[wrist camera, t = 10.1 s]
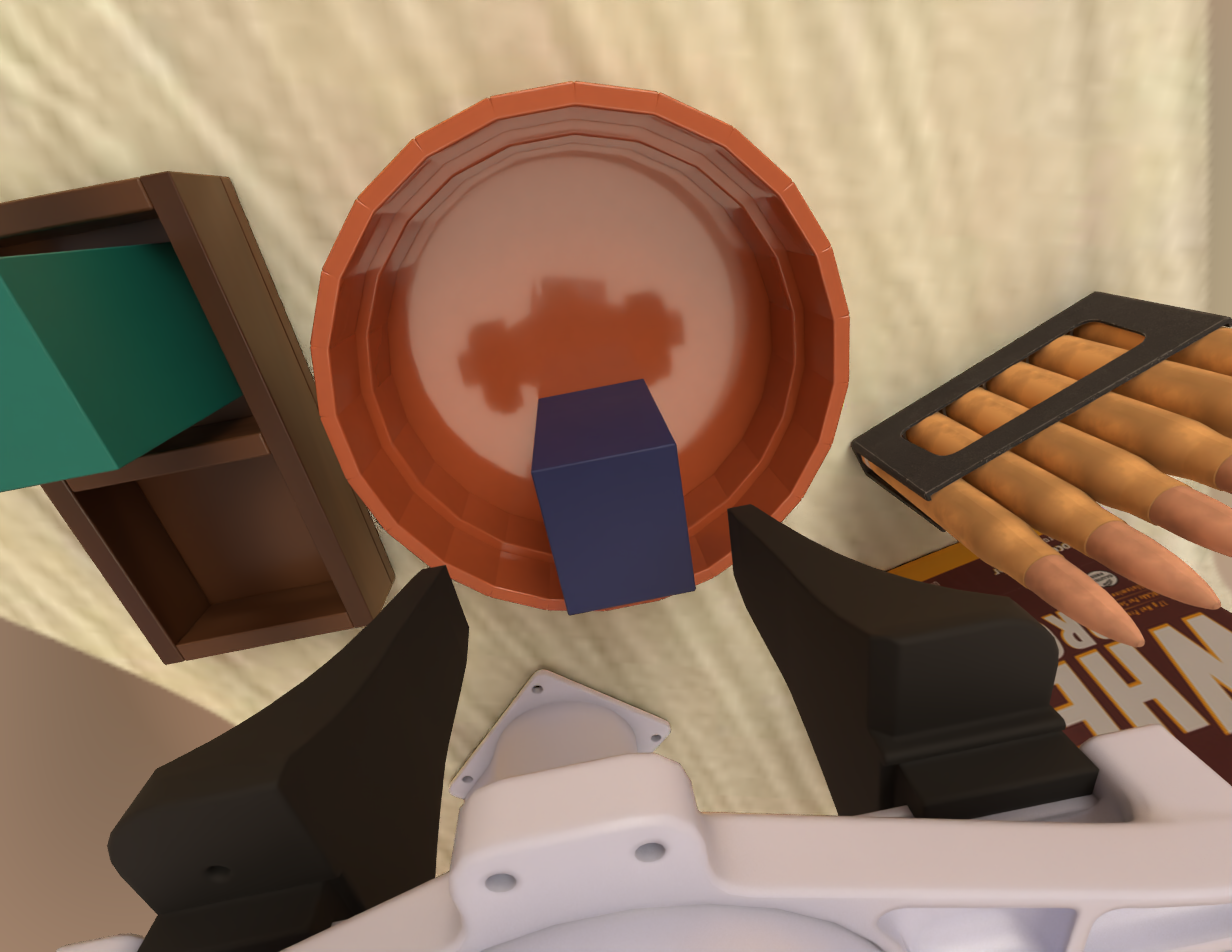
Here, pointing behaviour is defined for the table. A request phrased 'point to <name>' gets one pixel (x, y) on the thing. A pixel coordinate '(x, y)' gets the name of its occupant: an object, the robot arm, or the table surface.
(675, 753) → the table surface
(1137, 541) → the ammunition clip
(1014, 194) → the table surface
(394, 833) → the robot arm
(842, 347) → the bowl
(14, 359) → the green rectangular block
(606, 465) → the dark blue rectangular block
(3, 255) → the holder
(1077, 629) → the supplement box
